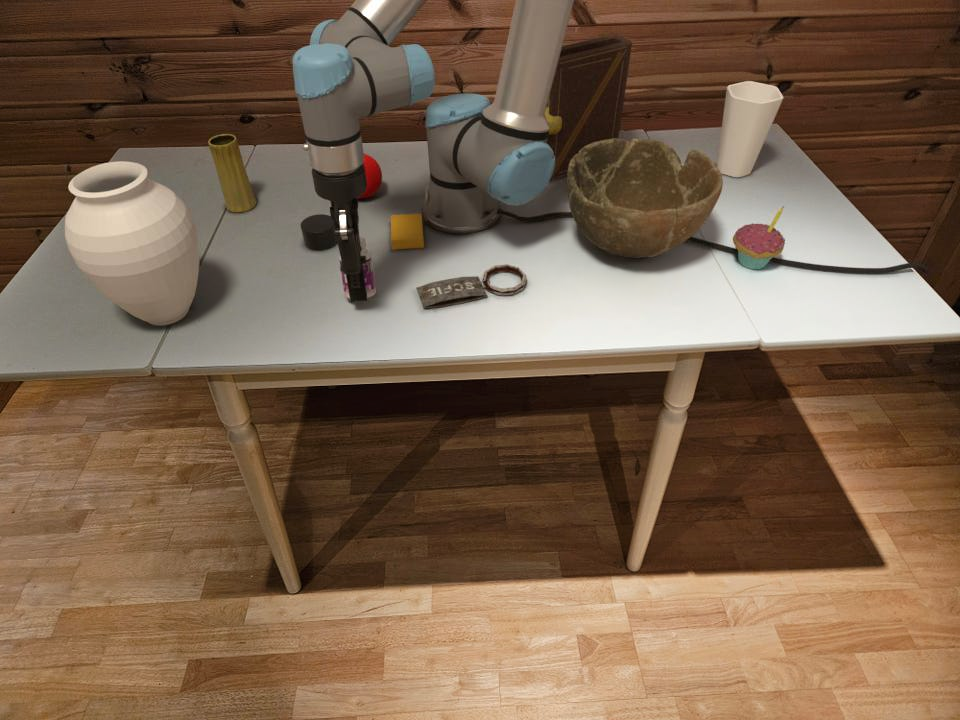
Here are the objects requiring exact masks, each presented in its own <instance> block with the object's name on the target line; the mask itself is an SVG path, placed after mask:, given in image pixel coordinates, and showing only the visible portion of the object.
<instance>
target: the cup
mask: <svg viewBox="0 0 960 720" xmlns="http://www.w3.org/2000/svg"><path fill="white" fill-rule="evenodd" d="M783 100H784V95H783V93H782V92H781V91H780V89H779V88H778V86H775V85H771V84H767V83H762V82H757V81H752V80H745V81H741V82H738V83H733V84H729V85H728V86H726V91H725V100H724V107H723V114H722V122H721V130H720V138H719V144H718V152H717V153H718V154H717V161H716V167H717V168H718V169H719V170H720V172H721V174H722V175H725V176H729V177H733V178H742V177H745V176H750V175H751V173H752V171H753V169H754V167H755V164H756V162H757V160H758V158H759V155H760V153H761V150H762V148H763V146H764V144H765V142H766V139H767V137H768V135H769V132H770V130H771V128H772V126H773V123H774V121H775V118H776V116H777V115H778V112H779V109H780V107H781V105H782V102H783Z"/></svg>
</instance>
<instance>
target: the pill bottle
mask: <svg viewBox="0 0 960 720" xmlns="http://www.w3.org/2000/svg"><path fill="white" fill-rule="evenodd" d="M359 237H360V245H361V248H362V250H361V252H360V253H361V256H366V261H364V262H360V263H362V265H363V271H364V278H365V285H366V292H367V299H368V298H372V297H373V296H375V295H376V293H377V288H376V280H375V273H374V265H373V256H372V253H371V251H370V250H369V249H367V248H366V247H367V241H366V238H365V237H361V236H359ZM338 260H339V261H338V262H339V268H340V267H341V266H342V261H341V256H340V255H339V256H338ZM340 274H341V280H342V287H343V293H344V296H345V298H347V299H349V300H350V296H349V290H348V284H347V278H346V274H344V272H343V271H340Z"/></svg>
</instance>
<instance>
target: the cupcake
mask: <svg viewBox="0 0 960 720" xmlns="http://www.w3.org/2000/svg"><path fill="white" fill-rule="evenodd" d="M784 208H785V205H783V206H782V207H781V208H779V209H778V210H777V212H776V214H775V216H774V218H773V219H772V221H771V223H770V225H769V224H766V223H750V224H745V225H743V226H742V227H739V228H738V229H737V230H736V231H735V232H734V235H733V236H732V242H733V244H734V246H735V247H734V248H735V249H737V250H738V254H737V256H738V257H737V259H738V263H739V264H740V265H741V266H742V267H744V268H747V269H749V270H762V269H763V268H765V267H766V266H767V265H768V263H770V262H769V261H770V259H771V258H772V257H774V258H777V256H779V255H780V254H781V253H782V252H783V250H784V248H785V244H786V238H785V237H784V236H783V234H781V232H780V231H779V230H778V229H777V228H775V226H776V224H777V222H778V220H779V219H780V217H781V215H782V213H783V212H784V210H783V209H784Z"/></svg>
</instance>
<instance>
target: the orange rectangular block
mask: <svg viewBox="0 0 960 720" xmlns="http://www.w3.org/2000/svg"><path fill="white" fill-rule="evenodd" d="M390 242H391V243H390V244H391V250H405V249H407V250H408V249H419V248H421V249H422V248H423V249H424V248H425V239H424V227H423V215H422V213H421V212H420V213H408V214H407V213H406V214H392V215H390Z"/></svg>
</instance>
